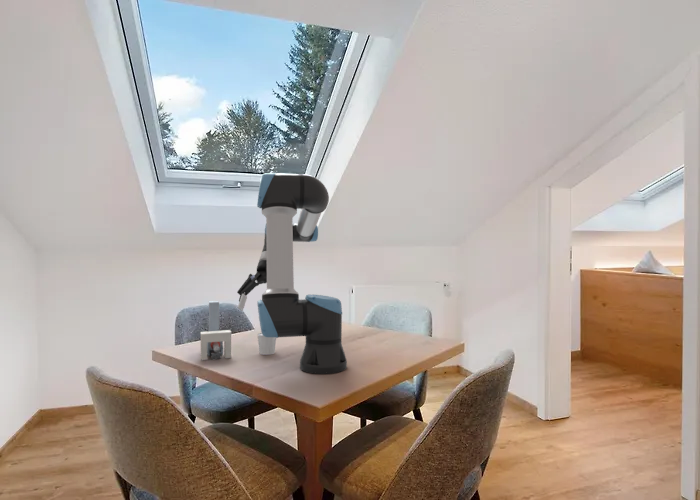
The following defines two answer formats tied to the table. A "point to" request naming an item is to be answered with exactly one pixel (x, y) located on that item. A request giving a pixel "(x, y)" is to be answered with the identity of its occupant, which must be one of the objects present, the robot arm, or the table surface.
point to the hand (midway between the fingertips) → (254, 307)
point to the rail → (215, 355)
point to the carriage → (214, 323)
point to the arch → (216, 337)
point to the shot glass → (266, 344)
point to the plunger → (215, 346)
